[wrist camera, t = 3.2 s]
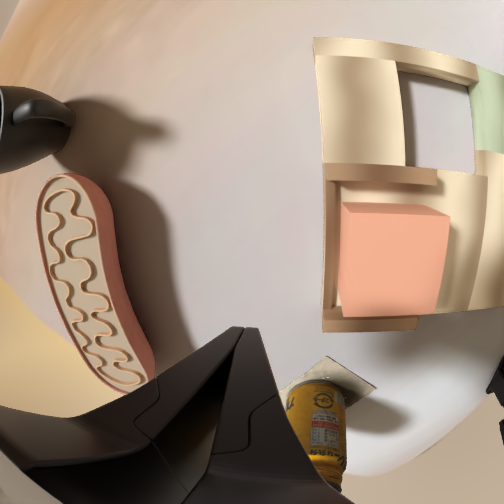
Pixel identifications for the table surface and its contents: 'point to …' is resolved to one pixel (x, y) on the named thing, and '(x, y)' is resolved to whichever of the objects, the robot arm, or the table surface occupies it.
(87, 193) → the anatomical model
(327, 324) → the cubby
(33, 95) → the mug
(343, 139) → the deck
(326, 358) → the condiment
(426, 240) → the coral block
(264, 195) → the table surface
